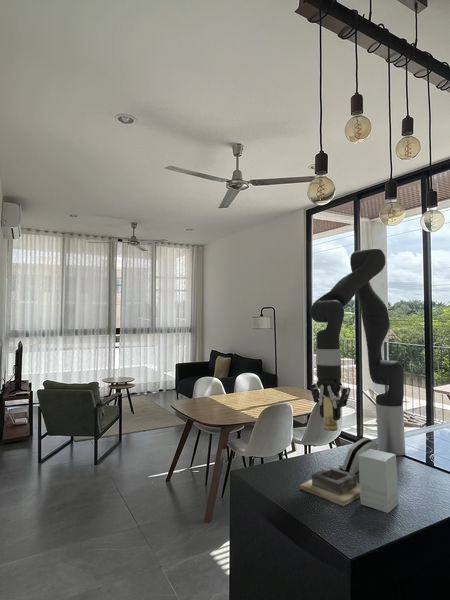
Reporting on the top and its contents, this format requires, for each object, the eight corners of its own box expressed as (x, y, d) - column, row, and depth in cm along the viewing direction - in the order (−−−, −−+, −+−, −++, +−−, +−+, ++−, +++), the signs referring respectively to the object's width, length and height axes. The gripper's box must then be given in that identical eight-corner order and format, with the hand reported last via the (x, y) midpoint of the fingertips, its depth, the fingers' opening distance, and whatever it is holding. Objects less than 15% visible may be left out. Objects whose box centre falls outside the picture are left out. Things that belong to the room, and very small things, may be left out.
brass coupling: (328, 426, 119) (327, 394, 120) (340, 429, 116) (339, 396, 116) (320, 428, 116) (319, 396, 117) (332, 431, 113) (331, 398, 114)
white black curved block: (360, 457, 131) (368, 431, 130) (372, 465, 128) (381, 439, 126) (337, 470, 119) (345, 442, 118) (350, 479, 116) (359, 451, 114)
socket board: (326, 476, 115) (326, 462, 115) (369, 491, 104) (368, 475, 104) (300, 489, 106) (299, 473, 107) (343, 506, 96) (343, 489, 96)
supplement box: (399, 503, 97) (397, 454, 98) (387, 514, 91) (385, 461, 92) (371, 495, 102) (369, 447, 103) (359, 504, 97) (357, 454, 98)
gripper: (355, 364, 115) (357, 420, 113) (317, 361, 125) (318, 413, 124) (341, 365, 110) (343, 425, 108) (303, 362, 121) (304, 416, 119)
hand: (330, 418), depth 116 cm, fingers closed on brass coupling, 4 cm apart
